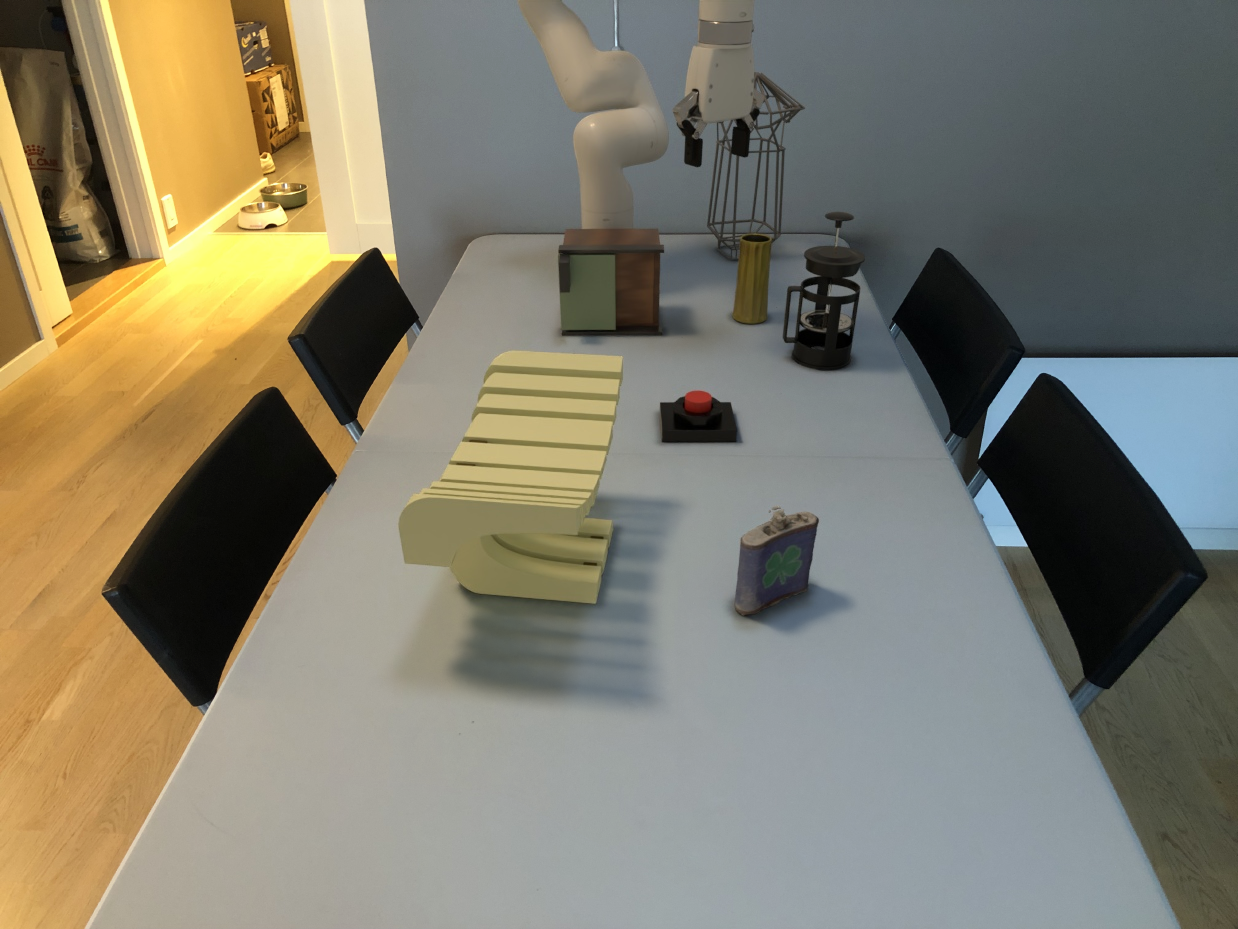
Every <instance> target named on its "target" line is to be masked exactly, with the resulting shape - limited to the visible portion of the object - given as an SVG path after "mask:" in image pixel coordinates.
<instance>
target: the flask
mask: <svg viewBox="0 0 1238 929" xmlns="http://www.w3.org/2000/svg"><path fill="white" fill-rule="evenodd" d="M771 510H773V514H772V517H771V518H770V520H768V521H766V522H765V523H762V524H760V525H758V526H756V527H755V528H753V529H751V530H748V531H747V532H746V533H744V534H743V535H741V537H740V539H739V540H740V542H739V544H740V545H739V554H738V565H737V566H738V567H737V574H736V575H737V578H736V586H735V595H734V601H733V605H734V609H735V611H736V612H738V613H739V614H740V615H741V616H746V615H755V614H759V613H760V612H761V610H764V609H766V608H770V607H772V606H776V605H778V604H780V602H781V600H783V599H785V600H788V599H789V598H790V597H791V596H797V595H798V594H802V593H804V592H807V590H808V587H809V580H810V570H811V567H812V562H813V557H814V549H815V542H816V537H817V532H818V527H819V522H820V519H819V517H818V516H817V515H815V514H814V513H811V512H810V511H806V510H805V511H799V512H796V513H792V514H786V513H785V509H782V507H781V506H779V505H776V506H772V507H771ZM771 510H768V513H771V512H772V511H771Z"/></svg>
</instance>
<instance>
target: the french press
mask: <svg viewBox="0 0 1238 929" xmlns="http://www.w3.org/2000/svg"><path fill="white" fill-rule="evenodd" d="M824 217H825V218H826V219H827V220H830V221H835V222H834V224H835V225H834V228H835V229H836V231H835V239H834V245H819V246H818V245H817V246H813V247H809V248H807V249H806V250H805V251H804V252H803V257H804V259H806V261H805V269H806V271H808V272H809V273H810V274H813V275H816V276H812V277H808V278H805V279H803V280H802V281H801V282H800V285H789V286H788V287H787V290H786V299H785V309H784V319H783V329H782V340H783V342H784V343H785V344H793V349H792V350H791V358H792V360H793V361H794V362H795V363H796V364H798V365H800V366H802V367H805V368H809V369H812V370H817V371H836V370H840V369H844V368H847V367H848V366H849V365H850V364H851V363H852V359H853V357H852V348H853V342H854V336H855V328H856V322H857V316H858V308H859V302H860V296H861V295H860V294H861V289H862V288H861V285H860V284H858V283H857V282H855V281H853V280H852V279H848V278H851V277H854V276H856V275H857V274H858V272H859V270H860V269H861V265H862V264H863V263H864V262H865V260H866V255H865V254H864V253H863V252H861V251H860V250H857V249H855V248H852V247H847V246H841V245H838V241H839V232H840V229H842V226H843V225H842V224H843V222H849V221H852V220H854V219H855V216H854V215H853V214H851V213H849V212H844V211H830V212H827V213H826V214H825V215H824ZM813 286H817V288H816V293H814V292H811V291H809V290H807V289H806V288H808V287H813ZM832 286H838V287H843V288H845V289H846V288H847V289H849V290H851V291H853V292H854V293H852V294H846V295H840V296H839V295H835V296H834V295H833V296H832ZM793 292H794V293H799V295H798V306H797V314H796V324H795V333H794V336H788V328H789V322H790V321H789V319H790V312H791V300H792V293H793ZM804 299H805V300H807V301H808V302H812V303H815V304H814V305H815V306H814V310H809V311H806V312H803V300H804ZM848 304H849V305H850V304H853V306H852V313H851V317H850V316H849V315H847V314H845V313H843V312H842V306H845V305H848ZM802 312H803V313H802ZM801 327H802V328H803V329H801ZM848 331H849V334H848V333H847V332H848ZM821 348H823V349H821Z"/></svg>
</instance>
